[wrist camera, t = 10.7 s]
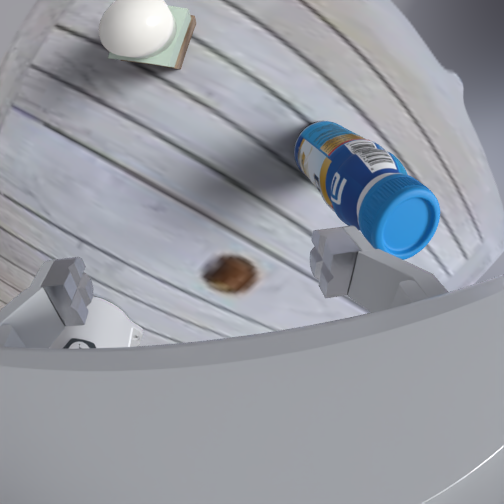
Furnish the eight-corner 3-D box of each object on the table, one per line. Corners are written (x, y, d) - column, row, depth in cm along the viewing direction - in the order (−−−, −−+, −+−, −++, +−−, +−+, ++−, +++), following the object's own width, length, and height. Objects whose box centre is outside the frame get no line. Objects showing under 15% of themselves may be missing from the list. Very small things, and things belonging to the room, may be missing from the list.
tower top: (174, 67, 24) (168, 66, 20) (122, 59, 22) (107, 58, 18) (191, 18, 21) (188, 9, 17) (138, 11, 19) (126, 1, 15)
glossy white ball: (160, 66, 20) (149, 64, 16) (108, 49, 18) (87, 47, 14) (187, 15, 17) (183, 2, 13) (134, -1, 15) (119, -15, 11)
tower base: (180, 69, 28) (176, 68, 24) (131, 61, 26) (120, 60, 22) (196, 23, 25) (194, 15, 21) (146, 15, 23) (137, 7, 19)
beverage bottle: (362, 141, 36) (462, 211, 20) (328, 189, 40) (404, 282, 24) (315, 106, 33) (413, 155, 17) (279, 160, 36) (342, 249, 20)
